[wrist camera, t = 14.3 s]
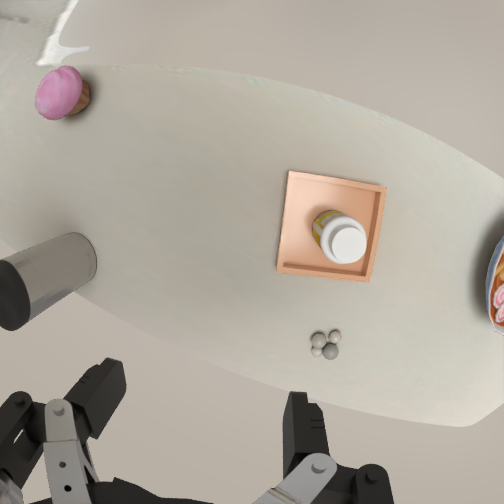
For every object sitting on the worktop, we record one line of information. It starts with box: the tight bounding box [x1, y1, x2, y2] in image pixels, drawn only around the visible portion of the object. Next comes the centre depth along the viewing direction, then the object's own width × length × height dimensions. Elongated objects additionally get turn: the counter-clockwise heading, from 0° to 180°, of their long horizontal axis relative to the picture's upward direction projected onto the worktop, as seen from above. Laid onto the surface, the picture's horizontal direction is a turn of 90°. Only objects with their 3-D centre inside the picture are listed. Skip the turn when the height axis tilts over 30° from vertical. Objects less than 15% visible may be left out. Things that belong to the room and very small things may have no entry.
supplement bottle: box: [312, 210, 367, 264], centre depth 34 cm, size 6×6×10 cm
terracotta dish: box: [276, 171, 387, 282], centre depth 38 cm, size 14×14×3 cm
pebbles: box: [311, 331, 342, 360], centre depth 43 cm, size 5×5×3 cm
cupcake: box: [35, 66, 90, 120], centre depth 32 cm, size 9×9×10 cm
